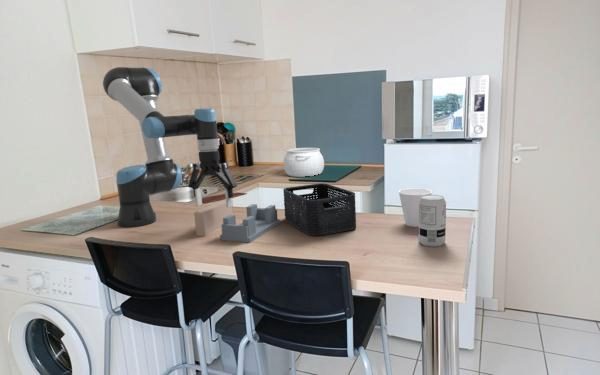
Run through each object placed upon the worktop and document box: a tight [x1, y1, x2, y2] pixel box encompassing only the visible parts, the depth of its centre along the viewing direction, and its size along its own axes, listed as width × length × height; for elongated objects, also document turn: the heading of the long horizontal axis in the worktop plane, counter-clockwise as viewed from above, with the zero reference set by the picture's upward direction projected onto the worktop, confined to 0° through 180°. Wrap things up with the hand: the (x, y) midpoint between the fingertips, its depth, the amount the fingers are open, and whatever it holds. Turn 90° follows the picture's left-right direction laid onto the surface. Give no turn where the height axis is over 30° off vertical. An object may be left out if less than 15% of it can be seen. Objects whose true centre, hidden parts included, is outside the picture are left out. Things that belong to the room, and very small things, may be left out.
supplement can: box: [417, 194, 447, 247], centre depth 135 cm, size 8×8×15 cm
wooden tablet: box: [202, 192, 248, 204], centre depth 219 cm, size 27×10×2 cm, turn 133°
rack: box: [219, 203, 281, 243], centre depth 158 cm, size 12×24×8 cm, turn 157°
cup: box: [398, 187, 433, 228], centre depth 156 cm, size 12×12×12 cm
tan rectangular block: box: [193, 199, 235, 237], centre depth 164 cm, size 4×20×9 cm, turn 158°
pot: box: [283, 147, 325, 178], centre depth 277 cm, size 29×26×16 cm
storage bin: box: [282, 182, 357, 237], centre depth 162 cm, size 29×19×13 cm
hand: (214, 206), depth 163 cm, fingers open, 13 cm apart
